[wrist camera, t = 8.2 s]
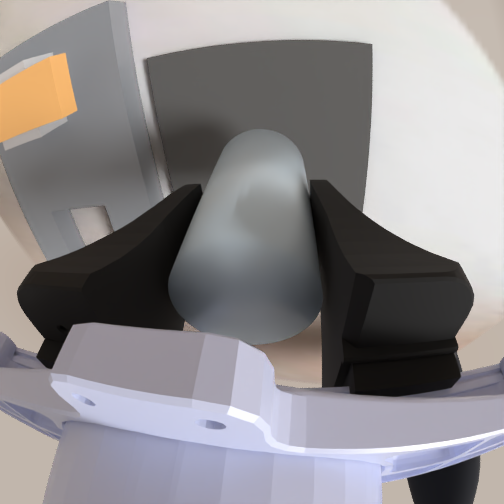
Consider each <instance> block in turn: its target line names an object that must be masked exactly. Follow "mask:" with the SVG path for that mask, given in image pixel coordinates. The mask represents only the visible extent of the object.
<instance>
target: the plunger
mask: <svg viewBox="0 0 504 504" xmlns="http://www.w3.org/2000/svg"><path fill="white" fill-rule="evenodd" d="M75 111H77V106H76V102H75V97H74V93H73V88H72V84H71V79H70V74H69V69H68V64H67V58H66V53H62V54H58V55H54V56H50V57H48V58H46V59H44V60H42V61H40V62H38V63H36V64H34V65H32V66H30V67H29V68H27V69H25V70H23V71H21V72H20V73H18V74H16V75H15V76H13V77H11V78H10V79H8V80H6V81H5V82H3V83H1V84H0V143H1V142H3V141H6V140H8V139H10V138H12V137H15V136H17V135H20V134H22V133H24V132H27V131H29V130H32V129H35V128H37V127H40V126H42V125H45V124H48V123H51V122H54V121H56V120H59V119H62V118H64V117H66V116H68V115H70V114H72V113H74V112H75Z"/></svg>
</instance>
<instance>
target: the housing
mask: <svg viewBox="0 0 504 504" xmlns="http://www.w3.org/2000/svg"><path fill="white" fill-rule="evenodd" d="M62 53H66V58H67V64H68V69H69V74H70V79H71V84H72V88H73V93H74V97H75V102H76V106H77V111H75V112H74V113H72V114H70V115H68V116H66V117H64V118H62V119H59V120H56V121H54V122H51V123H48V124H45V125H42V126H40V127H37V128H35V129H32V130H29V131H27V132H24V133H22V134H20V135H17V136H15V137H12V138H10V139H8V140H6V141H3V142H1V143H0V156H1V159H2V162H3V165H4V168H5V170H6V173H7V175H8V178H9V181H10V183H11V186H12V188H13V191H14V193H15V195H16V198H17V200H18V202H19V205H20V207H21V209H22V211H23V213H24V216H25V218H26V220H27V222H28V224H29V226H30V228H31V230H32V232H33V234H34V236H35V238H36V240H37V242H38V244H39V246H40V248H41V250H42V252H43V254H44V255H45V257H46V259H47V261H49V260H52V259H55V258H58V257H61V256H63V255H66V254H69V253H71V252H74V251H76V250H78V249H81V248H83V247H85V244H84V242H83V240H82V237H81V235H80V233H79V231H78V229H77V226H76V224H75V222H74V219H73V217H72V215H71V212H70V210H69V209H77V208H86V207H95V206H105V208H106V211H107V213H108V216H109V219H110V221H111V224H112V227H113V229H114V232H115V231H117V230H118V229H120V228H122V227H124V226H125V225H127V224H128V223H130V222H132V221H133V220H135V219H136V218H138V217H139V216H140V215H142V214H143V213H145V212H146V211H148V210H149V209H151V208H152V207H153V206H155V205H156V204H158V203H159V202H160V201H162V200H163V199H164V198H163V194H162V190H161V186H160V182H159V178H158V174H157V170H156V166H155V162H154V157H153V153H152V149H151V145H150V140H149V136H148V131H147V126H146V122H145V117H144V112H143V107H142V102H141V97H140V92H139V87H138V81H137V76H136V70H135V64H134V58H133V52H132V46H131V39H130V32H129V25H128V18H127V10H126V2H118V1H106V2H103V3H101V4H98V5H96V6H93V7H91V8H89V9H86V10H84V11H82V12H80V13H77V14H75V15H73V16H71V17H69V18H67V19H65V20H63V21H61V22H59V23H57V24H55V25H53V26H51V27H49V28H47V29H46V30H44V31H42V32H40V33H38V34H37V35H35V36H33V37H32V38H30V39H28V40H27V41H25V42H23V43H22V44H20V45H19V46H17V47H15V48H14V49H12V50H11V51H9V52H8V53H6V54H5V55H3V56H2V57H0V84H1V83H3V82H5V81H6V80H8V79H10V78H11V77H13V76H15V75H16V74H18V73H20V72H21V71H23V70H25V69H27V68H29V67H30V66H32V65H34V64H36V63H38V62H40V61H42V60H44V59H46V58H48V57H50V56H54V55H58V54H62Z"/></svg>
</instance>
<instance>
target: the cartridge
mask: <svg viewBox="0 0 504 504" xmlns="http://www.w3.org/2000/svg"><path fill="white" fill-rule="evenodd" d="M168 292H169V296H170V299H171V302H172V304H173V306H174V307H175V309H176V311H177V312H178V313H179V314H180V316H181V317H182V318H183V319H184V320H185V321H186V322H188V323H189V324H190V325H191V326H193V327H194V328H196V329H197V330H199V331H201V332H209V333H214V334H219V335H224V336H230V337H235V338H239V339H240V340H242V341H244V342H246V343H248V344H250V345H258V344H268V343H274V342H278V341H282V340H285V339H288V338H290V337H293V336H295V335H297V334H298V333H300V332H302V331H303V330H305V329H306V328H307V327H308V326H309V325H310V324H311V323H312V322H313V321H314V320H315V319H316V317H317V316H318V314H319V312H320V309H321V306H322V301H323V293H322V283H321V275H320V267H319V259H318V251H317V244H316V236H315V229H314V223H313V216H312V209H311V203H310V197H309V190H308V184H307V179H306V173H305V167H304V161H303V158H302V155H301V153H300V151H299V149H298V148H297V146H296V145H295V144H294V143H293V142H292V141H291V140H290V139H289V138H287V137H286V136H284V135H282V134H280V133H278V132H275V131H272V130H267V129H254V130H249V131H246V132H243V133H241V134H239V135H237V136H235V137H234V138H233V139H231V140H230V141H229V142H228V143H227V145H226V146H225V147H224V149H223V151H222V153H221V155H220V157H219V159H218V162H217V164H216V166H215V168H214V170H213V173H212V175H211V177H210V179H209V181H208V184H207V186H206V188H205V190H204V193H203V195H202V197H201V200H200V202H199V204H198V207H197V209H196V211H195V214H194V216H193V218H192V221H191V223H190V226H189V228H188V230H187V233H186V235H185V238H184V240H183V243H182V245H181V248H180V250H179V253H178V255H177V258H176V260H175V263H174V265H173V268H172V270H171V273H170V276H169V281H168Z"/></svg>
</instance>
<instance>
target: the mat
mask: <svg viewBox="0 0 504 504" xmlns="http://www.w3.org/2000/svg"><path fill="white" fill-rule="evenodd" d="M147 62H148V68H149V74H150V80H151V86H152V91H153V97H154V102H155V108H156V113H157V118H158V123H159V128H160V133H161V138H162V142H163V147H164V152H165V156H166V161H167V165H168V170H169V174H170V179H171V183H172V187H173V191H176V190H177V189H179V188H180V187H182V186H184V185H187V184H201V187H202V192H203V193H204V190H205V188H206V186H207V184H208V181H209V179H210V177H211V175H212V173H213V170H214V168H215V166H216V164H217V162H218V159H219V157H220V155H221V153H222V151H223V149H224V147H225V146H226V145H227V143H228V142H229V141H230V140H231V139H233V138H234V137H235V136H237V135H239V134H241V133H243V132H246V131H249V130H254V129H267V130H272V131H275V132H278V133H280V134H282V135H284V136H286V137H287V138H289V139H290V140H291V141H292V142H293V143H294V144H295V145H296V146H297V148H298V149H299V151H300V153H301V155H302V158H303V161H304V167H305V173H306V179H307V184H308V190H309V197H310V180H327V181H329V182H330V183H331V184H332V185H333V186H334V187H335V188H336V189H337V190H338V191H339V192H340V193H341V194H342V195H343V196H344V197H345V198H346V199H347V200H348V201H349V202H350V203H351V204H352V205H354V206H355V207H356V208H357V209H358V210H360V211H361V212H363V204H364V196H365V187H366V177H367V167H368V156H369V143H370V128H371V109H372V44H366V43H355V42H341V41H320V40H282V41H260V42H247V43H236V44H226V45H218V46H211V47H204V48H197V49H191V50H186V51H180V52H175V53H170V54H165V55H160V56H156V57H152V58H147Z"/></svg>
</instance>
